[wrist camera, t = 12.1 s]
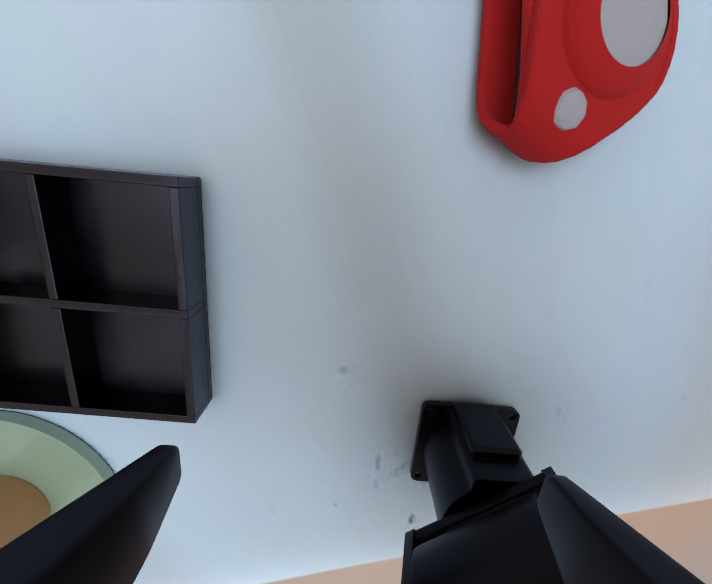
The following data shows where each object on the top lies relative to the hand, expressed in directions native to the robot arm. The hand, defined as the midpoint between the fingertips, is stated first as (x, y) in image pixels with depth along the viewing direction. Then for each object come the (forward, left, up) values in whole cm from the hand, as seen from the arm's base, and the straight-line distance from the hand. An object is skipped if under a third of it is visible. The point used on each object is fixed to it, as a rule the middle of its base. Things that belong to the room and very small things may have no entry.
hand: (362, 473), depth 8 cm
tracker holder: (+15, -8, -13) cm, 22 cm away
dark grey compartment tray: (-1, +20, -13) cm, 24 cm away
